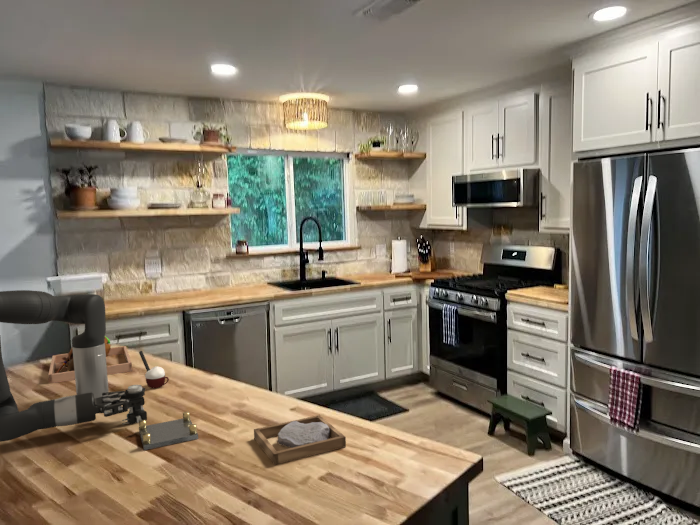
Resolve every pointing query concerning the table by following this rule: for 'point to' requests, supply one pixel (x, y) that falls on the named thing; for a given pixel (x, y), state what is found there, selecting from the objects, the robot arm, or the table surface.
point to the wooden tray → (71, 374)
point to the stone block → (302, 433)
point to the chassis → (167, 432)
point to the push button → (138, 411)
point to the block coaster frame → (300, 451)
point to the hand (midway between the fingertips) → (143, 397)
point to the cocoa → (154, 374)
